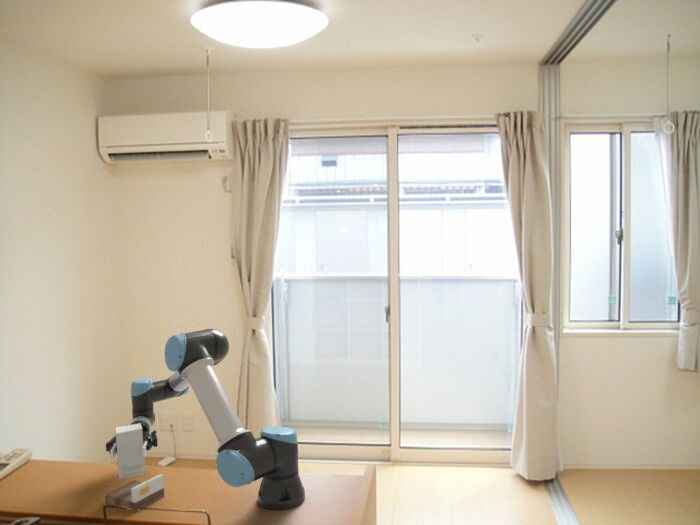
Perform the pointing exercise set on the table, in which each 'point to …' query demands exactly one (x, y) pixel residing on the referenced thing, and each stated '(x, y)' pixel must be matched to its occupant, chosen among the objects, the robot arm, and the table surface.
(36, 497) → the table surface
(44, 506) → the table surface
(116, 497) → the square wooden base
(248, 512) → the table surface
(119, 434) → the skincare box
